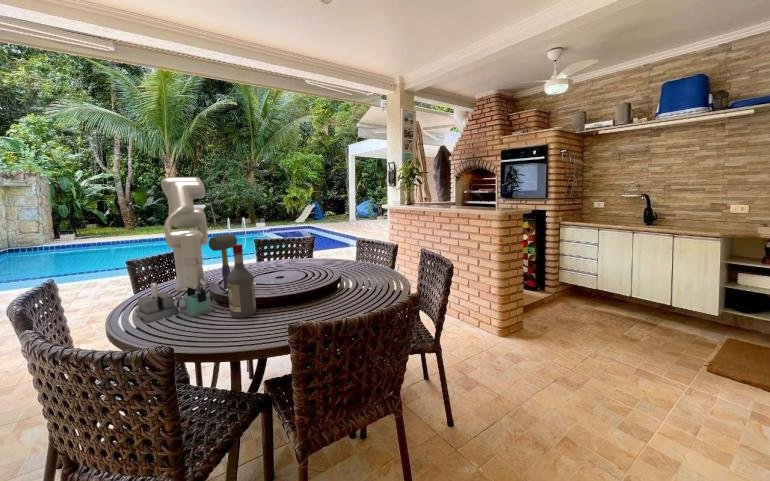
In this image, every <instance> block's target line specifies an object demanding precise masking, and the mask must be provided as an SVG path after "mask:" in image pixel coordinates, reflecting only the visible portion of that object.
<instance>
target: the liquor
mask: <svg viewBox="0 0 770 481" xmlns="http://www.w3.org/2000/svg"><path fill="white" fill-rule="evenodd" d="M243 252H244V251H243V245H242V244H236V245H233V247H232V253H233V261H234V263H233V264H234V266H233V267H234V268H233V269H232V270H230V274H229V275H228V277H227V287H228V293H227V296H228V306H229V314H230V315H231V316H232V317H233V318H235V319H243V318H247V317H251V316H254V315H255V314H256V313H257V301H256V290H255V280H254V276H253V275H254V274H252V272H250V271H249V270H248V269H247V268H246V267H245V265H244V254H243Z"/></svg>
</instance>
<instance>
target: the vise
mask: <svg viewBox="0 0 770 481" xmlns="http://www.w3.org/2000/svg"><path fill="white" fill-rule="evenodd" d="M150 292H151V296H150V295H146V296H142V297H138V298H137V305H138V308H137V309H135V314H136V318H137V317H138V318H139V319H141V320H142V319H143V321H144V322H146V323H151V322H154V321H158V320H161V319H164V318H168V317H171V316H175V315H179V313H180V312H179V306H177V305H176V304H175V301H180V300H184V301H185V297H186V296H182V295H179V294H177V296H175V297H174V295H173V294H171V293H168V292H165V291H162V292H159V289H158V283H157V282H152V283H150Z"/></svg>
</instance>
